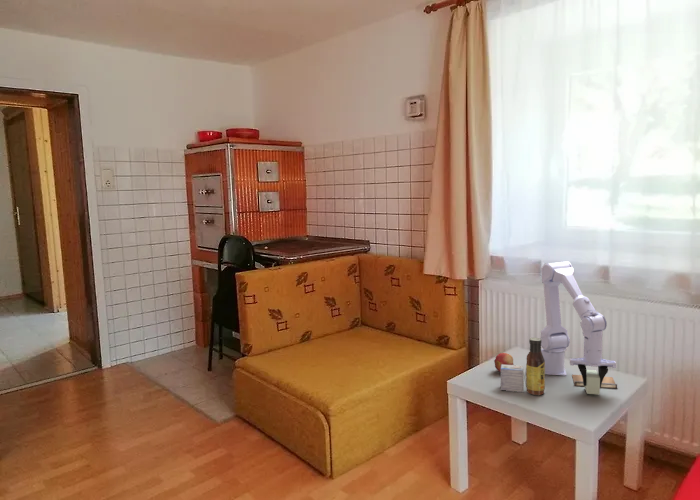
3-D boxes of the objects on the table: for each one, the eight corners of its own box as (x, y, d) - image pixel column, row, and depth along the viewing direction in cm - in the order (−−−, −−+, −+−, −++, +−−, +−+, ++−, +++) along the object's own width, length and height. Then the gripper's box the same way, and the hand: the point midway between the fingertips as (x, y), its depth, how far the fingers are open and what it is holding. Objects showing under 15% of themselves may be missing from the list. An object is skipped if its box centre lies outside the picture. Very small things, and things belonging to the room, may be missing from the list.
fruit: (511, 378, 195) (511, 358, 194) (491, 374, 199) (491, 355, 198) (516, 371, 201) (516, 351, 200) (497, 368, 205) (496, 349, 204)
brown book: (574, 385, 185) (574, 381, 185) (571, 376, 194) (572, 372, 194) (617, 388, 181) (617, 384, 181) (612, 378, 190) (612, 374, 189)
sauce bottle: (544, 397, 178) (545, 342, 175) (526, 395, 180) (526, 341, 177) (544, 389, 184) (544, 337, 181) (526, 387, 186) (526, 335, 183)
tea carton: (586, 393, 176) (587, 377, 175) (584, 385, 182) (584, 369, 182) (599, 394, 175) (600, 378, 174) (596, 386, 181) (597, 370, 180)
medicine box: (523, 387, 186) (523, 365, 185) (523, 392, 182) (523, 370, 180) (501, 386, 188) (501, 363, 187) (500, 390, 184) (500, 368, 183)
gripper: (571, 351, 175) (570, 388, 177) (618, 353, 170) (616, 391, 172) (569, 344, 181) (568, 380, 183) (614, 346, 177) (613, 383, 179)
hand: (591, 385), depth 178 cm, fingers closed on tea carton, 4 cm apart
